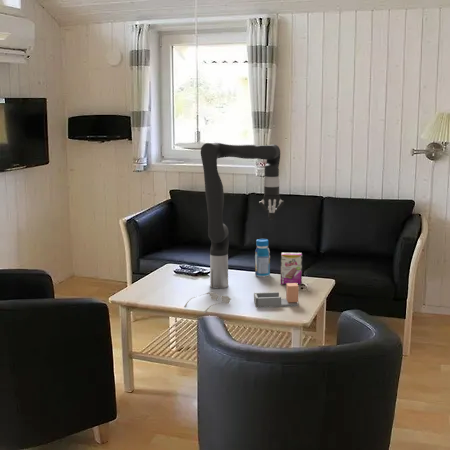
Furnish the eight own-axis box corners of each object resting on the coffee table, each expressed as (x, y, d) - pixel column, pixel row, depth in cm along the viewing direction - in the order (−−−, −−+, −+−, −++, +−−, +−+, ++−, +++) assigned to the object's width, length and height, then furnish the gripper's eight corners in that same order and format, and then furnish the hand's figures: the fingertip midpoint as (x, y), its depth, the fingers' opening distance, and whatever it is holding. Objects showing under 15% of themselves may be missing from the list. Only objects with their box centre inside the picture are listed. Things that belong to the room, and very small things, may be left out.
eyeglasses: (231, 305, 322) (231, 297, 321) (205, 314, 309) (204, 306, 308) (209, 299, 332) (209, 291, 331) (182, 307, 319) (182, 299, 319)
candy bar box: (280, 284, 353) (280, 254, 349) (280, 282, 357) (280, 252, 354) (301, 285, 352) (302, 254, 348) (301, 282, 356) (302, 252, 353)
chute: (256, 307, 316) (256, 298, 315) (254, 301, 325) (253, 292, 324) (298, 306, 318) (298, 296, 317) (294, 300, 326) (294, 291, 326)
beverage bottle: (262, 278, 365) (261, 242, 361) (251, 275, 372) (251, 239, 368) (273, 275, 371) (273, 240, 367) (263, 272, 377) (262, 237, 373)
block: (288, 302, 319) (288, 286, 317) (286, 299, 324) (286, 283, 322) (298, 302, 319) (298, 285, 318) (296, 298, 324) (296, 282, 323)
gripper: (259, 186, 327) (259, 221, 331) (286, 186, 328) (286, 220, 331) (257, 184, 334) (257, 218, 338) (283, 183, 335) (283, 218, 339)
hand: (271, 219), depth 335 cm, fingers closed
